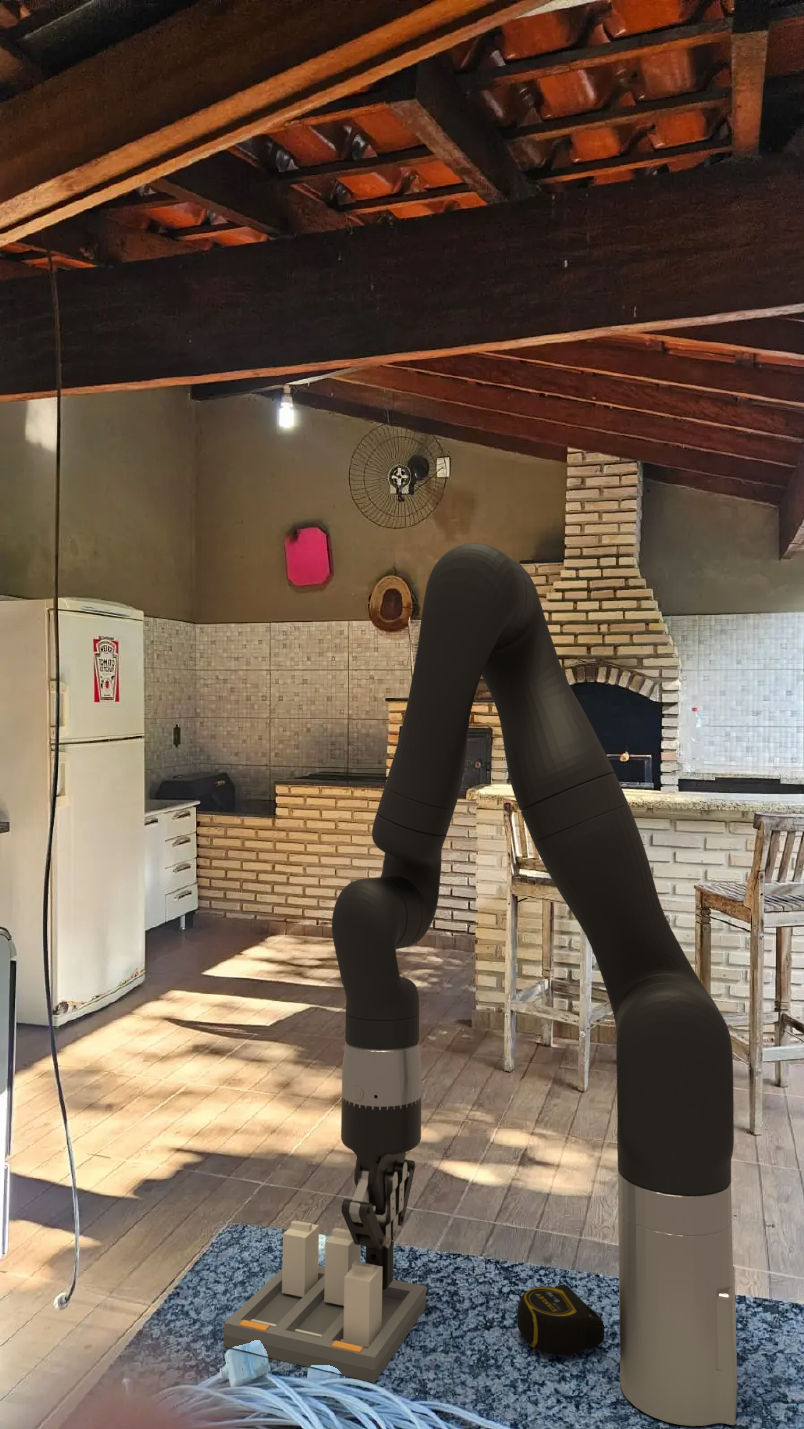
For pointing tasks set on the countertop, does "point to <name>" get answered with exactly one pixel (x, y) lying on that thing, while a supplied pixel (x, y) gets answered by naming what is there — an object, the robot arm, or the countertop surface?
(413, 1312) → the switch board
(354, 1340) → the beige tall block
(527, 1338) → the tape measure
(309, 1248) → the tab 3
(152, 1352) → the countertop surface
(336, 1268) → the beige upright block
